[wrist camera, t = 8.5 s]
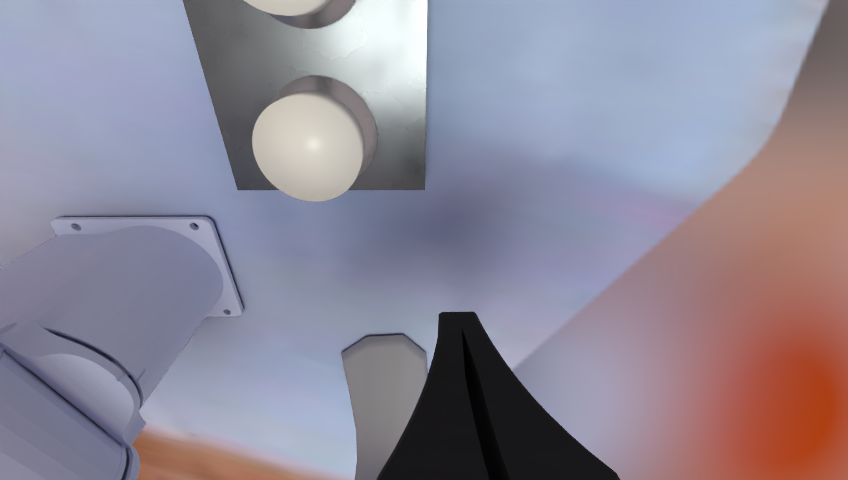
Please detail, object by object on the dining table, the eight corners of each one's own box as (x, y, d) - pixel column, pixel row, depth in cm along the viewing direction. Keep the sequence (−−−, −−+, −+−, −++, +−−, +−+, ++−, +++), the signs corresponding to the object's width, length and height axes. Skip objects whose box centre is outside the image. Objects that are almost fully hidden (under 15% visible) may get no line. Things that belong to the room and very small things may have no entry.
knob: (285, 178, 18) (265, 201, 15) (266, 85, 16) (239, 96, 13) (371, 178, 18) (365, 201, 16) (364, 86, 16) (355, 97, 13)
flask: (326, 346, 28) (288, 486, 19) (409, 321, 27) (408, 458, 18) (365, 397, 31) (348, 534, 23) (440, 377, 30) (452, 513, 22)
